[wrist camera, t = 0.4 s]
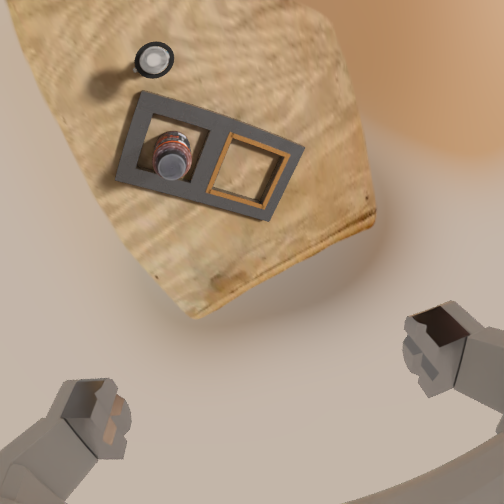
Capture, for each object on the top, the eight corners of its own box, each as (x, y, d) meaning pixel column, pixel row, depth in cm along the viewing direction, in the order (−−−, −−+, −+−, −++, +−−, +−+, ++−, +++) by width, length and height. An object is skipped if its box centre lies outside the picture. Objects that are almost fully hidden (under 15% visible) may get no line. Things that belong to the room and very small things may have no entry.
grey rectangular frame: (142, 90, 45) (141, 90, 44) (302, 145, 57) (305, 148, 56) (116, 177, 52) (114, 180, 51) (267, 218, 64) (269, 222, 63)
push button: (139, 84, 45) (132, 89, 37) (129, 56, 41) (119, 54, 33) (178, 68, 45) (179, 70, 37) (168, 40, 42) (166, 35, 34)
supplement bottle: (178, 123, 50) (180, 138, 41) (195, 151, 54) (201, 173, 44) (148, 141, 50) (143, 161, 41) (166, 169, 54) (165, 194, 45)
